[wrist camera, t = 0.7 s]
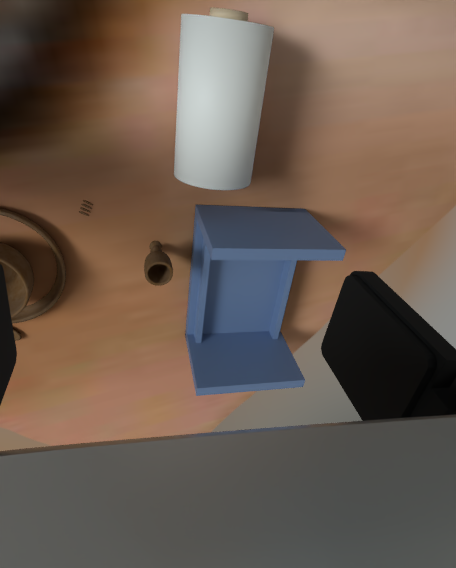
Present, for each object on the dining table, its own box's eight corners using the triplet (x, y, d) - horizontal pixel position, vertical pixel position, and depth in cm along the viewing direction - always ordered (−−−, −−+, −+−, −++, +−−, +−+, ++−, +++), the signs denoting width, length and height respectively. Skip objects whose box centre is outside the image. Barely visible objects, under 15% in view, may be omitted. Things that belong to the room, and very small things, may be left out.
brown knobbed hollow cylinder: (-62, 143, 30) (-99, 164, 25) (176, 231, 38) (183, 260, 33) (-89, 315, 37) (-122, 358, 32) (116, 358, 45) (115, 397, 40)
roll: (175, 5, 28) (190, -1, 23) (259, 19, 29) (290, 16, 24) (169, 171, 34) (179, 196, 29) (238, 174, 36) (259, 198, 31)
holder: (195, 204, 36) (212, 248, 29) (305, 208, 39) (346, 249, 31) (185, 335, 44) (196, 395, 37) (275, 331, 47) (302, 386, 40)
